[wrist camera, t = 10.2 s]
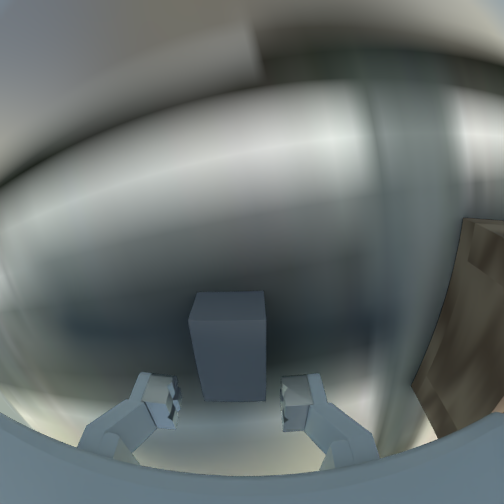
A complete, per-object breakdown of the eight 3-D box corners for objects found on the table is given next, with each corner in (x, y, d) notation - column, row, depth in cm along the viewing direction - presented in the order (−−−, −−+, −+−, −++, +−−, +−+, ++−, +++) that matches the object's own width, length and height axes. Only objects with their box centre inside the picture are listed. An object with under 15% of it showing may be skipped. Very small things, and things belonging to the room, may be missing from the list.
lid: (366, 371, 16) (383, 409, 13) (118, 373, 16) (101, 410, 13) (397, 231, 13) (434, 257, 9) (76, 241, 13) (38, 267, 10)
